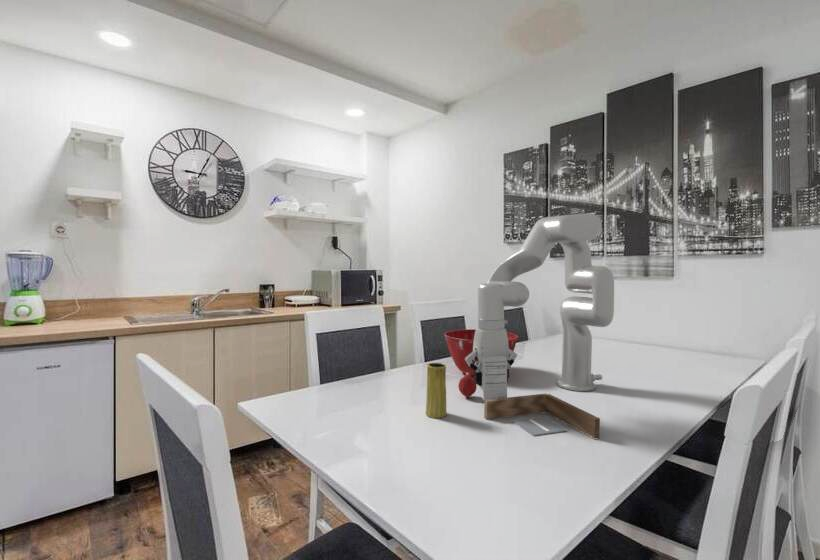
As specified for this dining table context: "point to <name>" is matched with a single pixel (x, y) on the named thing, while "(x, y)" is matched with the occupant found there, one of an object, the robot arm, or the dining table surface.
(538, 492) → the dining table surface
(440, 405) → the vase
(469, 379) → the red oval fruit
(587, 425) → the corner arena
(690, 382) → the dining table surface
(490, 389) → the supplement box
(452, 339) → the mixing bowl
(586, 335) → the robot arm
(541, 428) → the pad
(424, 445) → the dining table surface
